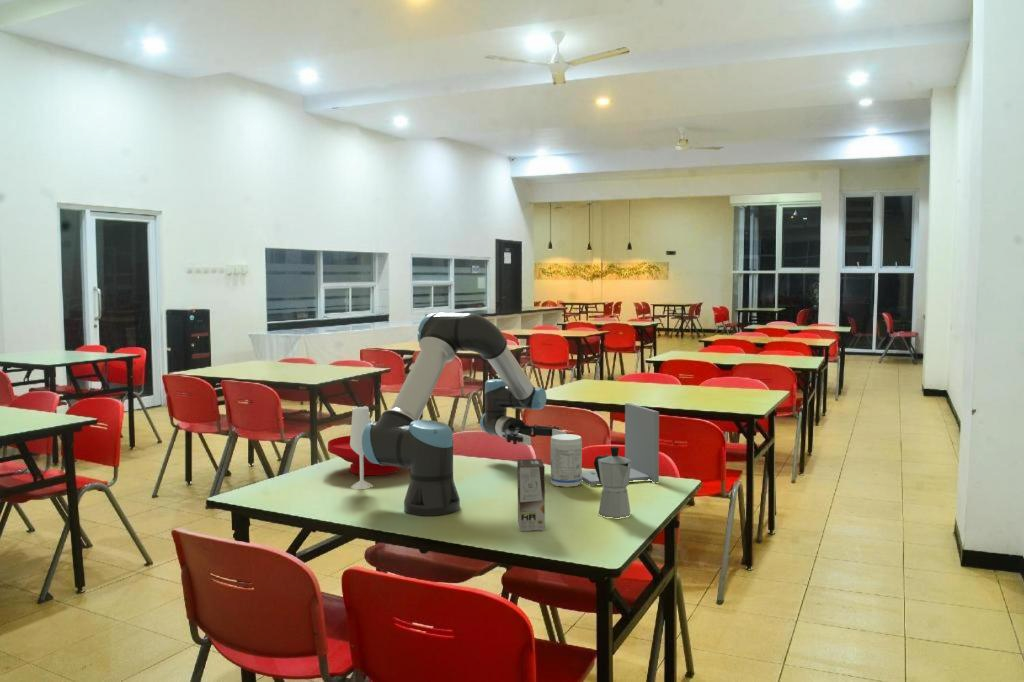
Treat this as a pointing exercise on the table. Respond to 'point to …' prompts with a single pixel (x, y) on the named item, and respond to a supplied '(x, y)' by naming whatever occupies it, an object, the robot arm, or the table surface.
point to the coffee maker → (613, 484)
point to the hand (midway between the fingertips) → (547, 438)
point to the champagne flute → (359, 440)
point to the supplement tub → (566, 460)
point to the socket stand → (638, 445)
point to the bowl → (357, 458)
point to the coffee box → (531, 494)
